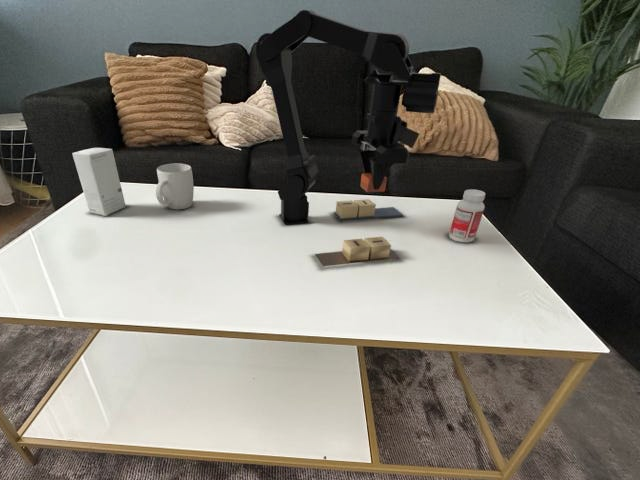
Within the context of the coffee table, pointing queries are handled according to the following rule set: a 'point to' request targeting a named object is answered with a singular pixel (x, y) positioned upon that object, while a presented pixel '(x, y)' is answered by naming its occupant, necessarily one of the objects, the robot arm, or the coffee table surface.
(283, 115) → the robot arm
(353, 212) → the far word
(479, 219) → the pill bottle
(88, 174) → the cosmetic box
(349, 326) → the coffee table surface
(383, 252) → the near word
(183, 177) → the mug
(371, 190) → the red wooden cube
